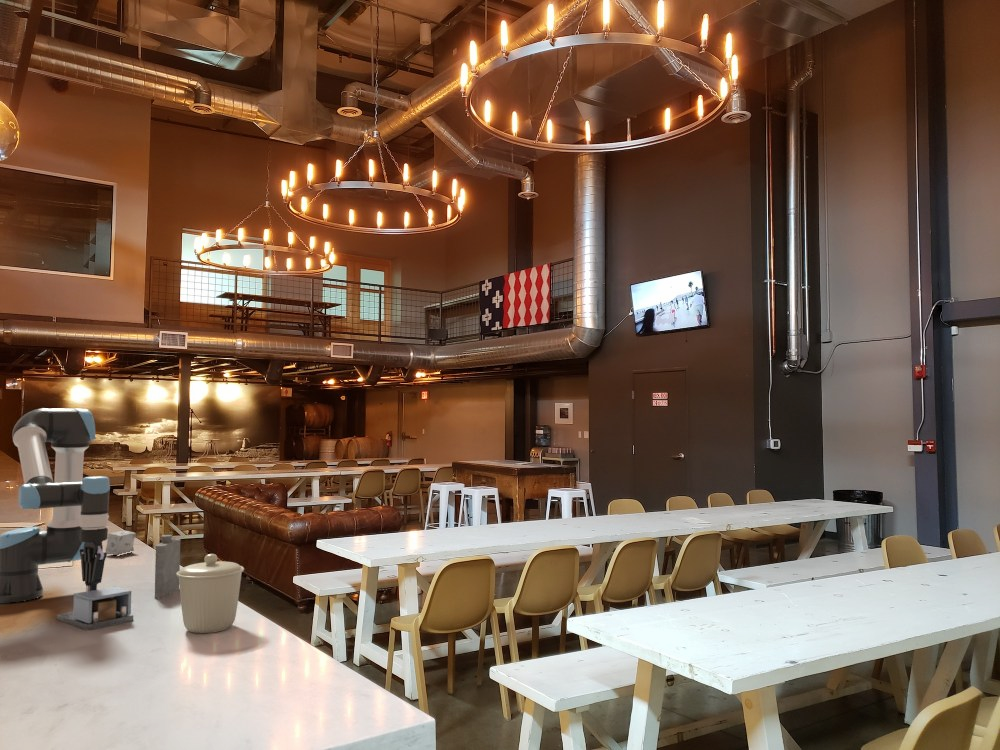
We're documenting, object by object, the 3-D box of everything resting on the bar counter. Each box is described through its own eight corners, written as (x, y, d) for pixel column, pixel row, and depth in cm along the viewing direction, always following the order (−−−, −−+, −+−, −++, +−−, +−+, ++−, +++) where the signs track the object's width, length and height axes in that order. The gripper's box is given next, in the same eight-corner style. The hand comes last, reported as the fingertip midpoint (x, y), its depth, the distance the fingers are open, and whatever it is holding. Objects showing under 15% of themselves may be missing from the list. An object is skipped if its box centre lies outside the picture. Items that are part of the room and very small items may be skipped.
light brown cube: (98, 620, 212) (98, 603, 212) (90, 618, 215) (91, 600, 215) (115, 617, 216) (116, 599, 216) (108, 614, 219) (108, 597, 219)
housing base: (57, 619, 219) (57, 604, 219) (102, 610, 229) (102, 596, 230) (87, 630, 207) (87, 614, 207) (133, 620, 217) (133, 605, 218)
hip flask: (162, 598, 245) (164, 538, 247) (150, 598, 245) (151, 538, 246) (180, 588, 261) (181, 531, 262) (169, 588, 261) (170, 531, 262)
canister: (177, 641, 196) (179, 562, 197) (172, 625, 212) (174, 552, 213) (247, 632, 204) (248, 556, 205) (238, 617, 220) (239, 546, 221)
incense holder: (119, 557, 325) (120, 533, 326) (104, 556, 327) (105, 533, 328) (136, 553, 334) (137, 530, 335) (121, 552, 337) (122, 530, 337)
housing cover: (73, 617, 214) (73, 593, 214) (114, 609, 223) (115, 586, 224) (88, 623, 208) (89, 598, 208) (130, 614, 217) (131, 590, 218)
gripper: (116, 528, 221) (113, 607, 219) (97, 524, 228) (94, 600, 227) (90, 531, 215) (87, 612, 213) (71, 527, 222) (68, 605, 221)
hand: (90, 606), depth 220 cm, fingers closed
